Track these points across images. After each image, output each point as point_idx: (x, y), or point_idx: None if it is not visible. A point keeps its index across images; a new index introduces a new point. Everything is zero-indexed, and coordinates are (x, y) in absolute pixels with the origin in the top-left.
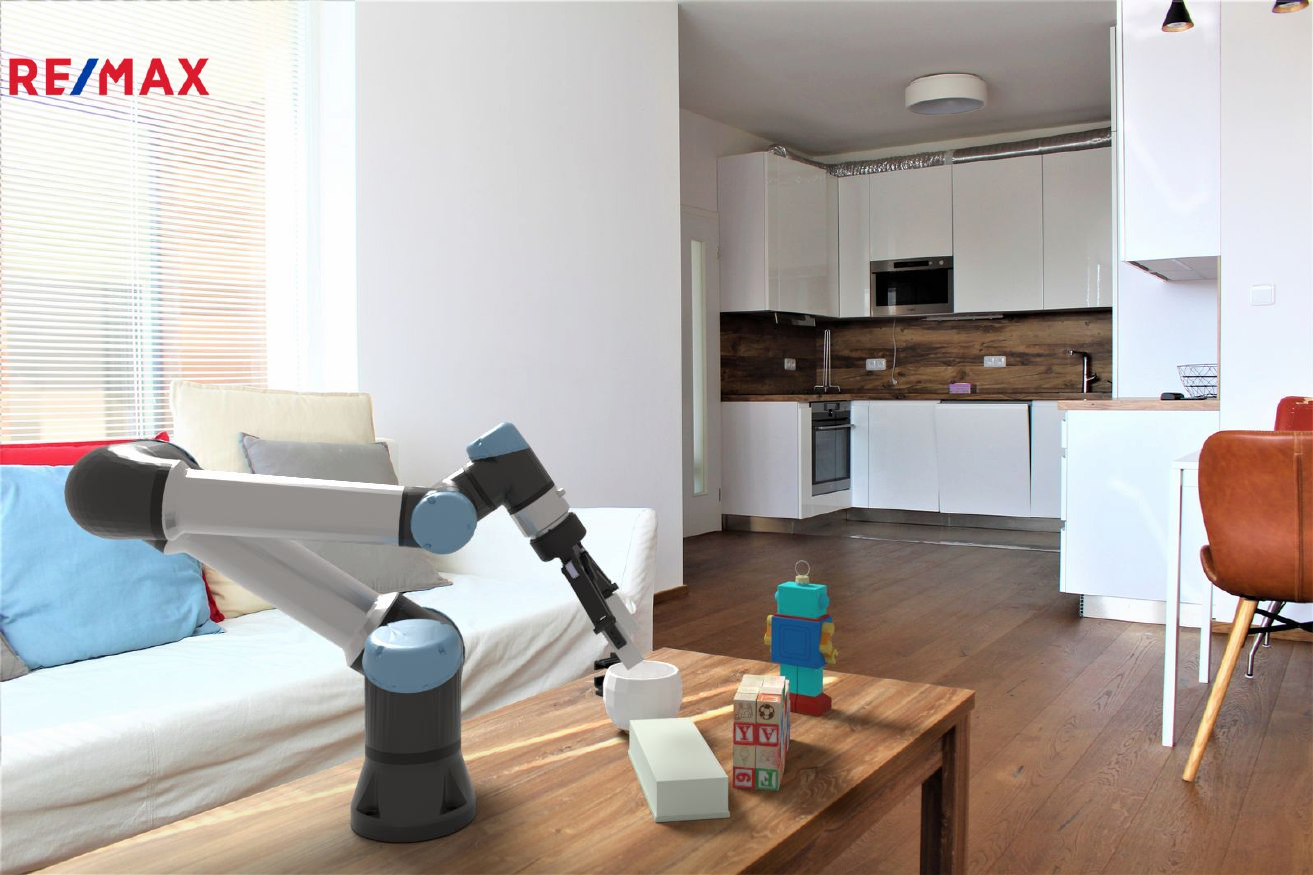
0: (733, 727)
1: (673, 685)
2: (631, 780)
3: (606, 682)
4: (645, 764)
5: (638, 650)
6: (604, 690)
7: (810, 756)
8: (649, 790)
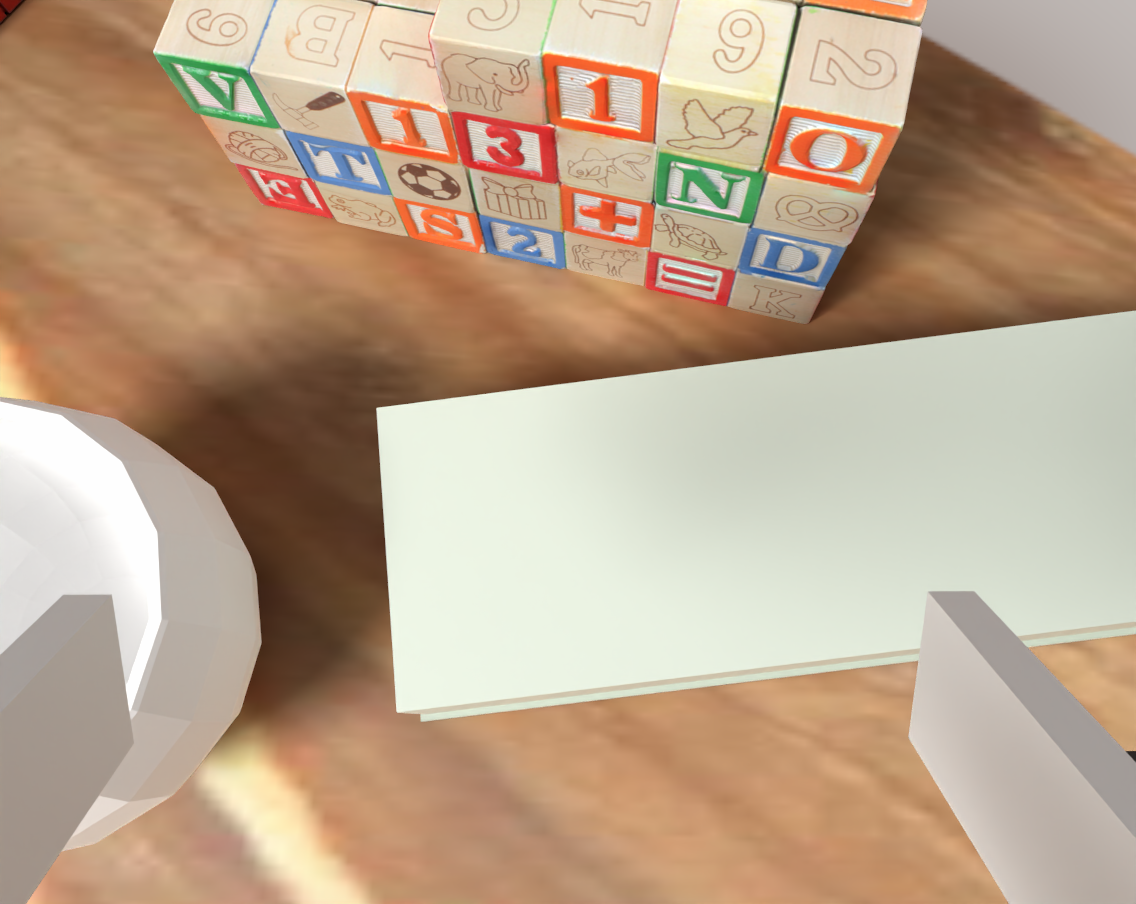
0: (867, 206)
1: (140, 448)
2: (741, 712)
3: None
4: None
5: (1008, 635)
6: None
7: None
8: None
